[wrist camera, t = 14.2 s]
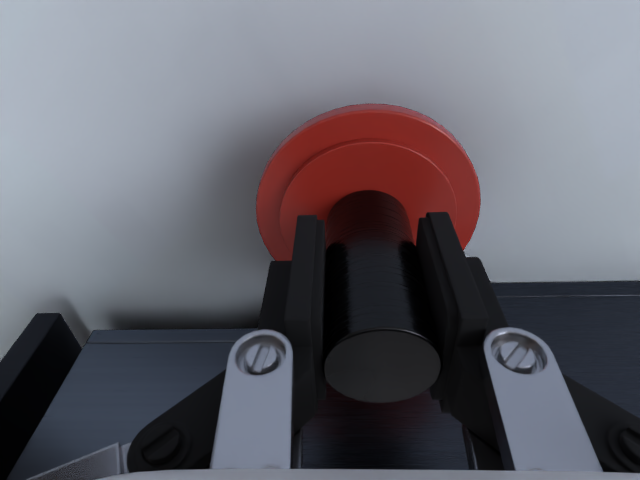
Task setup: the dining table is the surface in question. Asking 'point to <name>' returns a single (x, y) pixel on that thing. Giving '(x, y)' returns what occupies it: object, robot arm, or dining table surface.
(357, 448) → the dark grey metal box
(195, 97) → the dining table surface
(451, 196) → the lid
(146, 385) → the drawer
